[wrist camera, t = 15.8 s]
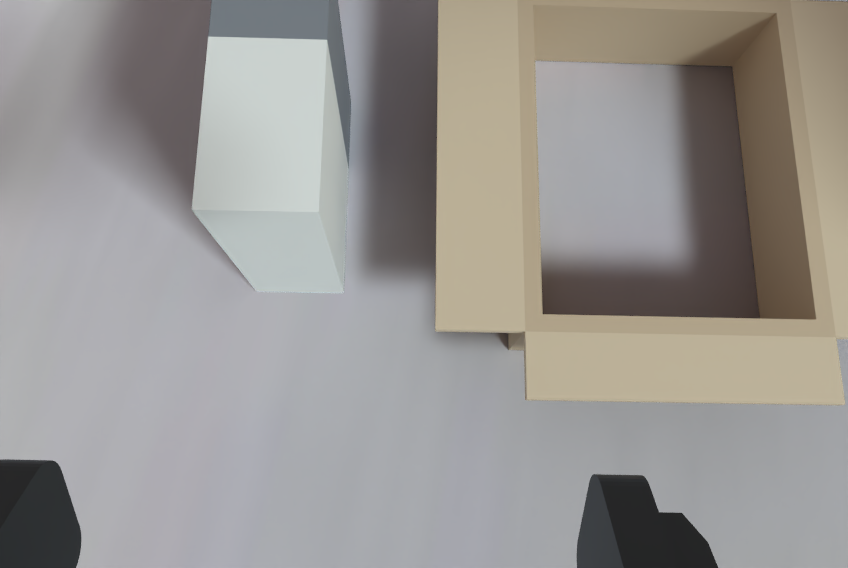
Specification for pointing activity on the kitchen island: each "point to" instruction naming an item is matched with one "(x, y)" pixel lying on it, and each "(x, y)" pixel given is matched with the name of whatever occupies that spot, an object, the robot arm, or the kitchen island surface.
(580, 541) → the robot arm
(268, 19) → the box
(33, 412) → the kitchen island surface
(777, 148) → the carton
